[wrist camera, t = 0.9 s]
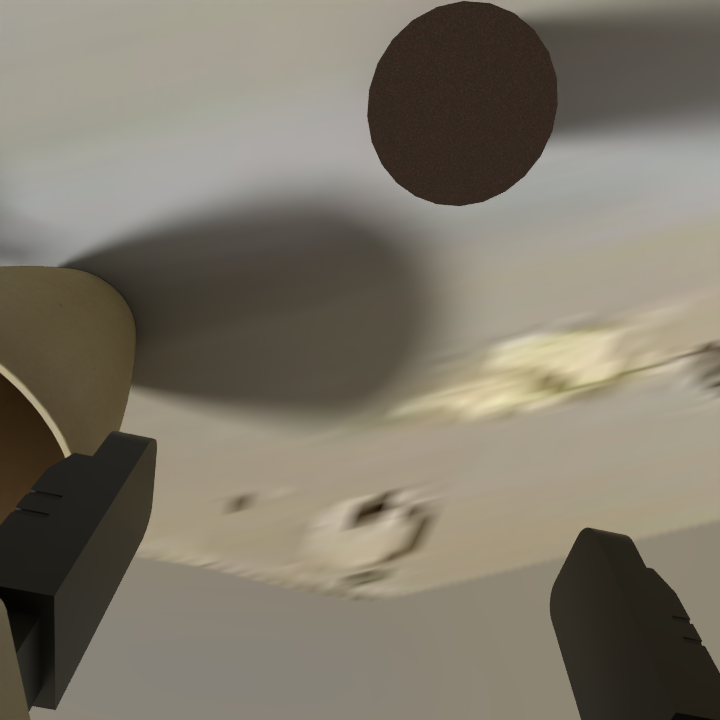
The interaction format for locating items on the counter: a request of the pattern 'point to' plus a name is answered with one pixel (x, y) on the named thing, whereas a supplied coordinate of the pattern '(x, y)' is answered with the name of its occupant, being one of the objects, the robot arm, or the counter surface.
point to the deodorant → (462, 103)
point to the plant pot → (58, 370)
